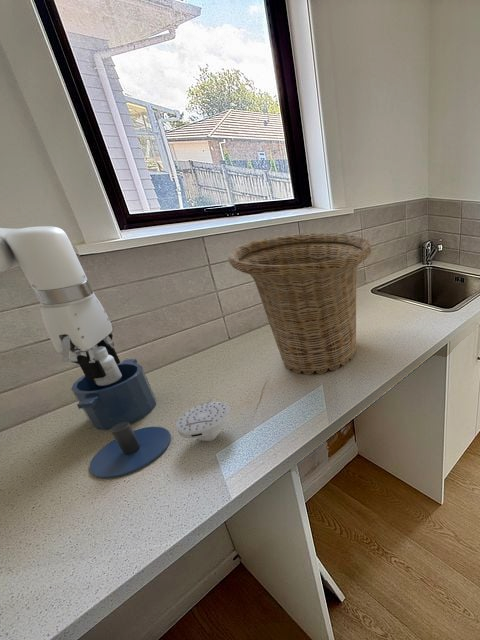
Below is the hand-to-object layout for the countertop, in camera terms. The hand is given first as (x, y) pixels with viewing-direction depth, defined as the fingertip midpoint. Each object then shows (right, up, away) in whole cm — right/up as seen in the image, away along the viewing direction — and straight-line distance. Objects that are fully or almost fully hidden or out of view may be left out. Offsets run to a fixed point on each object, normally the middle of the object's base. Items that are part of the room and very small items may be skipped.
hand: (104, 370), depth 73 cm
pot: (0, -11, +5) cm, 12 cm away
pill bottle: (0, -3, +1) cm, 3 cm away
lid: (+11, -16, -5) cm, 20 cm away
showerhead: (+24, -15, -1) cm, 29 cm away
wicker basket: (+38, 0, +29) cm, 48 cm away
